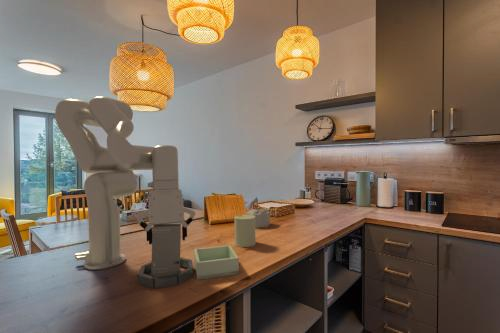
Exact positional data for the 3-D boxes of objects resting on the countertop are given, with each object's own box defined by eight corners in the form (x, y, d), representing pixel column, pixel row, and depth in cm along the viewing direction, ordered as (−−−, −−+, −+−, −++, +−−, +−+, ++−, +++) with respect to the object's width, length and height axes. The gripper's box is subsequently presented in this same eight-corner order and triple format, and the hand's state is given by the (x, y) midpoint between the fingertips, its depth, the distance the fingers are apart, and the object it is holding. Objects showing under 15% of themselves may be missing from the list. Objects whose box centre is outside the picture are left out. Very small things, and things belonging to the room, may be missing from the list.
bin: (197, 279, 73) (197, 263, 73) (194, 263, 85) (194, 249, 85) (238, 273, 76) (238, 257, 76) (230, 258, 88) (229, 245, 88)
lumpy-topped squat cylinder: (244, 224, 138) (244, 209, 138) (263, 221, 144) (263, 207, 144) (253, 229, 129) (253, 212, 129) (274, 225, 135) (273, 209, 135)
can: (243, 239, 112) (243, 212, 112) (260, 243, 106) (259, 215, 106) (229, 244, 105) (229, 216, 104) (246, 248, 99) (245, 219, 99)
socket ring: (136, 291, 66) (135, 282, 66) (143, 268, 81) (143, 260, 81) (194, 282, 71) (194, 274, 71) (191, 262, 86) (190, 255, 86)
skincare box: (151, 282, 72) (150, 228, 71) (153, 271, 78) (153, 222, 78) (181, 278, 74) (180, 225, 74) (181, 268, 81) (180, 220, 80)
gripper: (133, 188, 70) (135, 248, 70) (195, 185, 75) (197, 241, 75) (137, 186, 77) (138, 241, 77) (193, 183, 82) (195, 235, 82)
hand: (167, 241), depth 76 cm, fingers open, 9 cm apart
